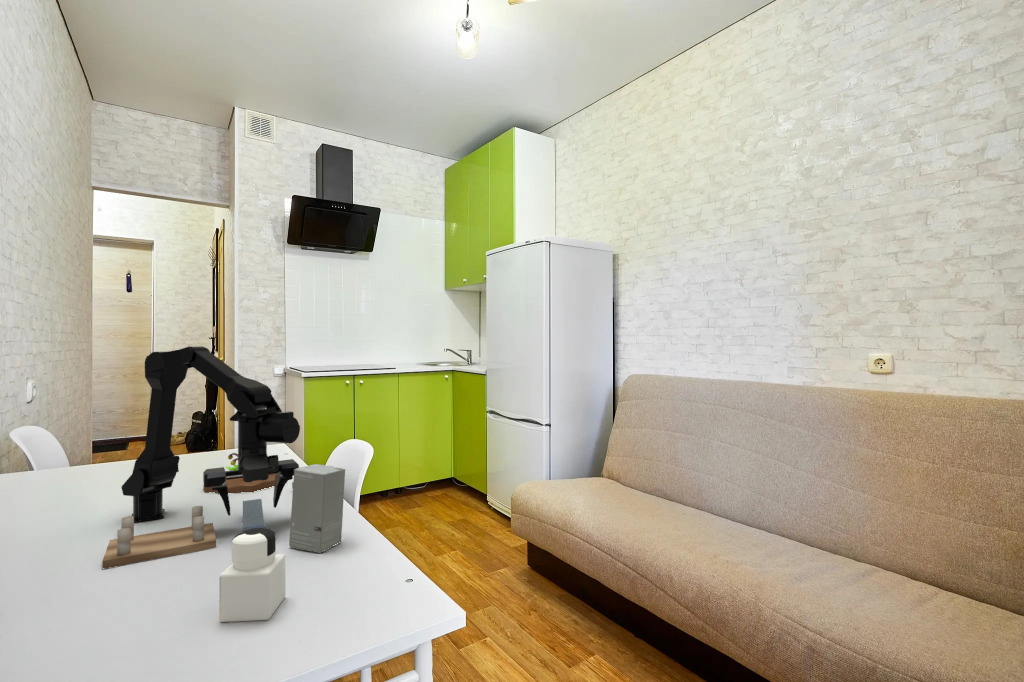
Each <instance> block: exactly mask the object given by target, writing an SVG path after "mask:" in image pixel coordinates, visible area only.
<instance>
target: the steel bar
mask: <svg viewBox="0 0 1024 682" xmlns="http://www.w3.org/2000/svg"><path fill="white" fill-rule="evenodd" d="M253 528H265V518H264V510H263V501H262V498H255V499H249V500H243V501H242V531H245V530H248V529H253Z"/></svg>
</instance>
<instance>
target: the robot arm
mask: <svg viewBox="0 0 1024 682" xmlns="http://www.w3.org/2000/svg"><path fill="white" fill-rule="evenodd" d="M191 368H193V369H195V370H196V371H197V372H199V374H201V375H203V376H204V377H205V378H206V379H208V380H209V381H211V382H212V383H213V384H214V385H216V386H217V387H218V388H220V390H222V391H223V393H225V395H226V399H227V401H228V402H229V404H231V405H232V407H234V408H235V410H236V412H235V413H234V414H233V415H231V417H230V418H229V421H230V422H238V424H237V425H238V426H237V430H238V431H237V441H238V442H237V454H238V457H237V458H238V460H237V465H238V470H231V471H230V470H226V469H225V467H224V466H222V467H214V468H207V469H205V470H204V471H203V473H202V474H203V475H202V477H203V478H202V480H203V481H202V482H203V485H204V487H211V490H217V491H218V493H219V494H218V495H219V496H220V497H221V499H222V502H223V504H224V508H225V510H226V513H227V516H231V506H230V505H231V504H230V499H229V494H228V489H227V484H226V480H229V479H237V478H243V480H244V482H252V481H257V480H262V481H263V480H267V479H268V478H269V474H275V485H274V487H273V497H272V498H273V500H272V501H273V504H272V505H273V508H277V506H278V503H279V500H280V497H281V495H282V492H283V489H284V487H285V485H286V484H287V483H288V482H289V481H292V480H294V469H297V468H300V464H299V463H298V462H297V461H295V460H294V458H291V459H284V460H279V456H278V454H273V455H268V453H267V449H268V448H267V447H268V445H267V443H279V444H293V443H295V442H296V441H297V440H298V438H299V435H300V432H301V426H300V423H299V421H298V419H297V418H296V417H295V416H294V414H295V413H294V411H283V410H282V409H281V407H280V405H279V404H278V403H277V401H276V398H275V397H274V396H273V394H272V389H271V388H270V387H269V386H268V385H267V384H264V383H262V382H260V381H258V380H255V379H251V378H248V377H245V376H244V375H242V374H240V373H239V372H237V371H236V370H235V369H233V368H232V367H230V366H229V365H228V364H226V363H225V362H224V361H222V360H221V359H220V358H219V357H217V356H216V355H214V354H213V353H212V352H211V351H210V349H209V348H207V347H206V346H186V347H183V348H179V349H175V350H174V349H173V350H169V351H153V352H151V353H150V354H149V355H147V356H146V357H145V359H144V378H145V379H146V381H147V383H148V385H149V387H150V388H151V389H150V390H151V391H150V400H149V408H148V416H147V417H148V418H147V425H146V436H145V445H144V449H143V450H142V452H141V453H140V454H139V456H138V457H137V458H136V460H135V461H134V465H133V469H132V472H131V475H130V476H129V477H128V478H127V479H126V480H125V482H124V483H123V484H122V485H121V491H122V495H123V496H126V497H128V496H129V497H132V513H131V515H130V516H134V523H138V522H144V521H151V520H152V521H153V520H157V519H158V520H159V519H163V518H165V513H166V509H165V508H163V500H164V499H163V498H164V497H163V495H164V494H163V491H164V490H165V489H168V488H172V487H173V483H174V480H175V478H176V475H177V473H179V472H180V470H179V462H180V455H176V454H175V453H174V452H173V450H172V448H171V444H172V443H171V442H172V435H173V428H174V427H173V425H174V417H175V411H176V410H175V408H176V400H177V392H178V389H179V387H180V386H181V385H182V383H183V382H184V381H185V379H186V377H187V373H188V370H189V369H191ZM276 473H278V474H276Z"/></svg>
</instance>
